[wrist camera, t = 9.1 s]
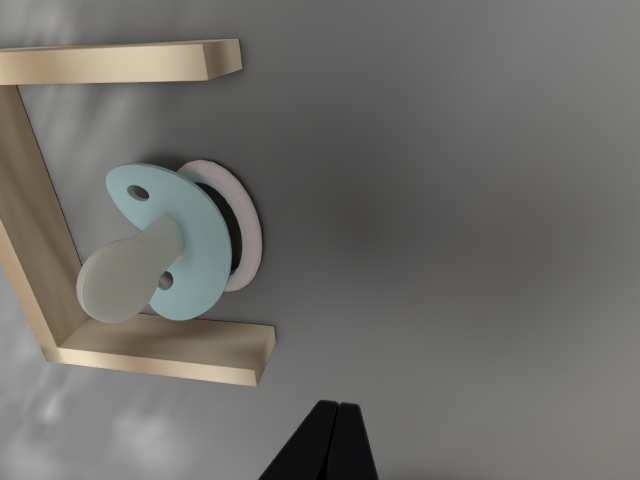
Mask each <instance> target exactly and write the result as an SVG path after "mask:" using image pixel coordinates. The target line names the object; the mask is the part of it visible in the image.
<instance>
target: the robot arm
mask: <svg viewBox="0 0 640 480" xmlns="http://www.w3.org/2000/svg"><path fill="white" fill-rule="evenodd" d="M258 480H379V478H378V474H377V471H376V467H375V463H374V459H373V455H372V451H371V448H370V444H369V440H368V436H367V432H366V429H365V425H364V421H363V417H362V413H361V409H360V407H359V405H358V404H353V403H345V402H342V403H340V404H339V403H338V402H336V401H329V400H320V401H319V402H318V403H317V404H316V405H315V406H314V408H313V409H312V410H311V412H310V413H309V414H308V415H307V417H306V418H305V419H304V421H303V422H302V423H301V424H300V426H299V427H298V428H297V430H296V431H295V432H294V434H293V435H292V436H291V437H290V439H289V440H288V441H287V443H286V444H285V445H284V446H283V448H282V449H281V450H280V452H279V453H278V454H277V456H276V457H275V458H274V459H273V461H272V462H271V463H270V465H269V466H268V467H267V469H266V470H265V471H264V472H263V474H262V475H261V476H260V478H259V479H258Z"/></svg>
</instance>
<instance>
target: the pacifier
mask: <svg viewBox="0 0 640 480" xmlns="http://www.w3.org/2000/svg"><path fill="white" fill-rule="evenodd" d="M196 182H199V183H204V184H207V185H209V186H211V187H213V188H214V189H216V190H217V191H218V192H219V193H220V194H221V195H222V196H223V197H224V198H225V199H226V201H227V202H228V204H229V205H230V206H231V208H232V210H233V212H234V214H235V216H236V218H237V220H238V223H239V227H240V231H241V235H242V245H243V247H242V257H241V261H240V264H239V266H238V267H237V268H236V269H234V270H233V271H230V270H231V262H232V248H231V241H230V236H229V232H228V228H227V225H226V223H225V221H224V218H223V216H222V214H221V213H220V211H219V209H218V207H217V206H216V205H215V203H214V202H213V201H212V199H211V198H210V197H209V196H208V195H207V194H206V193H205V192H204V191H203V190H202V189H201V188H200V187H199V186H198V185H196V184H195V183H196ZM106 185H107V190H108V192H109V194H110V196H111V198H112V200H113V202H114V203H115V204H116V206H117V207H118V209H119V210H120V211H121V212H122V213H123V214H124V216H125V217H126V218H127V219H129V220H130V221H131V222H132V223H133V224H134V225H135V226H136V227H137V228H139V229H140V230H141V232H140V233H139V234H138V235H136V236H135V237H134V238H133V239H121V240H117V241H114V242H111V243H109V244H106V245H104V246H103V247H101V248H99V249H98V250H97V251H95V252H94V253H93V254H92V255H91V256H90V257H89V258H88V259H87V260H86V262H85V263H84V265H83V266H82V268H81V270H80V273H79V275H78V279H77V285H76V290H77V297H78V300H79V303H80V305H81V307H82V308H83V310H84V311H85V312H86V313H87V314H88V315H89V316H91V317H93V318H94V319H96V320H98V321H101V322H104V323H119V322H122V321H126V320H128V319H130V318H132V317H133V316H135V315H136V314H138V313H139V312H140V311H141V310H142V309H143V308H144V307H145V306H146V305H147V304H148V303H149V304H150V306H151V307H152V308H153V310H155V311H156V312H157V313H158V314H159V315H161V316H163V317H165V318H167V319H171V320H188V319H192V318H194V317H197V316H199V315H201V314H202V313H204V312H206V311H207V310H208V309H210V308H211V307H212V306H213V305H214V304H215V303H216V302H217V300H218V299H219V298H220V296H221V294H222V293H223V291H226V292H228V291H235V290H239V289H241V288H243V287H244V286H246V285H248V284H249V283H250V281H251V280H252V279H253V278H254V277H255V275H256V273H257V270H258V268H259V265H260V261H261V254H262V236H261V228H260V224H259V220H258V216H257V212H256V210H255V208H254V206H253V203H252V201H251V199H250V197H249V195H248V194H247V192H246V191H245V189H244V188H243V186H242V185H241V183H240V182H239V181H238V180H237V179H236V178H235V177H234V176H233V175H232V174H231V173H230V172H229V171H228V170H226V169H225V168H223V167H221V166H219V165H217V164H216V163H214V162H209V161H204V160H196V161H192V162H188V163H186V164H185V165H184V166H182V167H181V168H180V169H179V170H178V171H177V172H174V171H171V170H169V169H166V168H163V167H160V166H156V165H152V164H145V163H127V164H123V165H120V166H118V167H116V168H114V169H112V170H111V171H110V172H109V173H108V175H107V178H106ZM131 185H136V186H140V187H142V188H143V189H145V190H146V191H147V192H148V194H149V198H148V199H145V198H141V197H139V196H137V195H136V194H134V192H133V191H132V189H131ZM165 271H168V272H170V273H171V274H172V276H173V285H172V286H170V287H165V286H163V285H162V284H161V282H160V280H159V279H160V277H161V276H162V274H163V273H164V272H165Z"/></svg>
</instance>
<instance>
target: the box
mask: <svg viewBox="0 0 640 480" xmlns="http://www.w3.org/2000/svg"><path fill="white" fill-rule="evenodd" d="M240 69H242V61H241V53H240V45H239V39H216V40H192V41H168V42H144V43H120V44H96V45H72V46H48V47H24V48H0V262H1V264H2V266H3V268H4V270H5V272H6V274H7V277H8V279H9V281H10V283H11V285H12V287H13V289H14V292H15V294H16V296H17V298H18V300H19V302H20V304H21V307H22V309H23V311H24V313H25V315H26V317H27V319H28V322H29V324H30V326H31V328H32V330H33V332H34V334H35V337H36V339H37V341H38V343H39V345H40V347H41V349H42V352H43V354H44V356H45V358H46V360H47V361H50V362H58V363H67V364H75V365H83V366H91V367H99V368H108V369H116V370H124V371H132V372H140V373H149V374H157V375H165V376H173V377H181V378H190V379H198V380H206V381H214V382H222V383H231V384H239V385H247V386H255V387H257V386H258V383H259V381H260V378H261V376H262V373H263V371H264V369H265V366H266V364H267V361H268V359H269V357H270V354H271V352H272V349H273V347H274V344H275V342H276V340H275V332H274V326H266V325H256V324H245V323H234V322H223V321H212V320H202V319H188V320H171V319H167V318H165V317H163V316H159V315H148V314H136V315H135V316H133V317H132V318H130V319H128V320H126V321H122V322H119V323H104V322H101V321H98V320H96V319H94V318H93V317H91V316H89V315H88V314H87V313H86V312H85V311H84V310H83V308H82V307H81V305H80V303H79V300H78V297H77V290H76V285H77V279H78V275H79V273H80V270H81V268H82V266H81V263H80V260H79V257H78V255H77V252H76V249H75V246H74V244H73V241H72V238H71V235H70V233H69V230H68V227H67V224H66V222H65V219H64V216H63V213H62V211H61V208H60V205H59V202H58V200H57V197H56V194H55V191H54V189H53V186H52V183H51V180H50V178H49V175H48V172H47V169H46V167H45V164H44V161H43V158H42V156H41V153H40V150H39V147H38V145H37V142H36V139H35V136H34V134H33V131H32V128H31V125H30V123H29V120H28V117H27V114H26V112H25V109H24V106H23V103H22V101H21V98H20V95H19V92H18V90H17V87H16V85H21V84H66V83H111V82H156V81H202V80H211V79H214V78H217V77H220V76H223V75H225V74H228V73H231V72H234V71H237V70H240Z"/></svg>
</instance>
